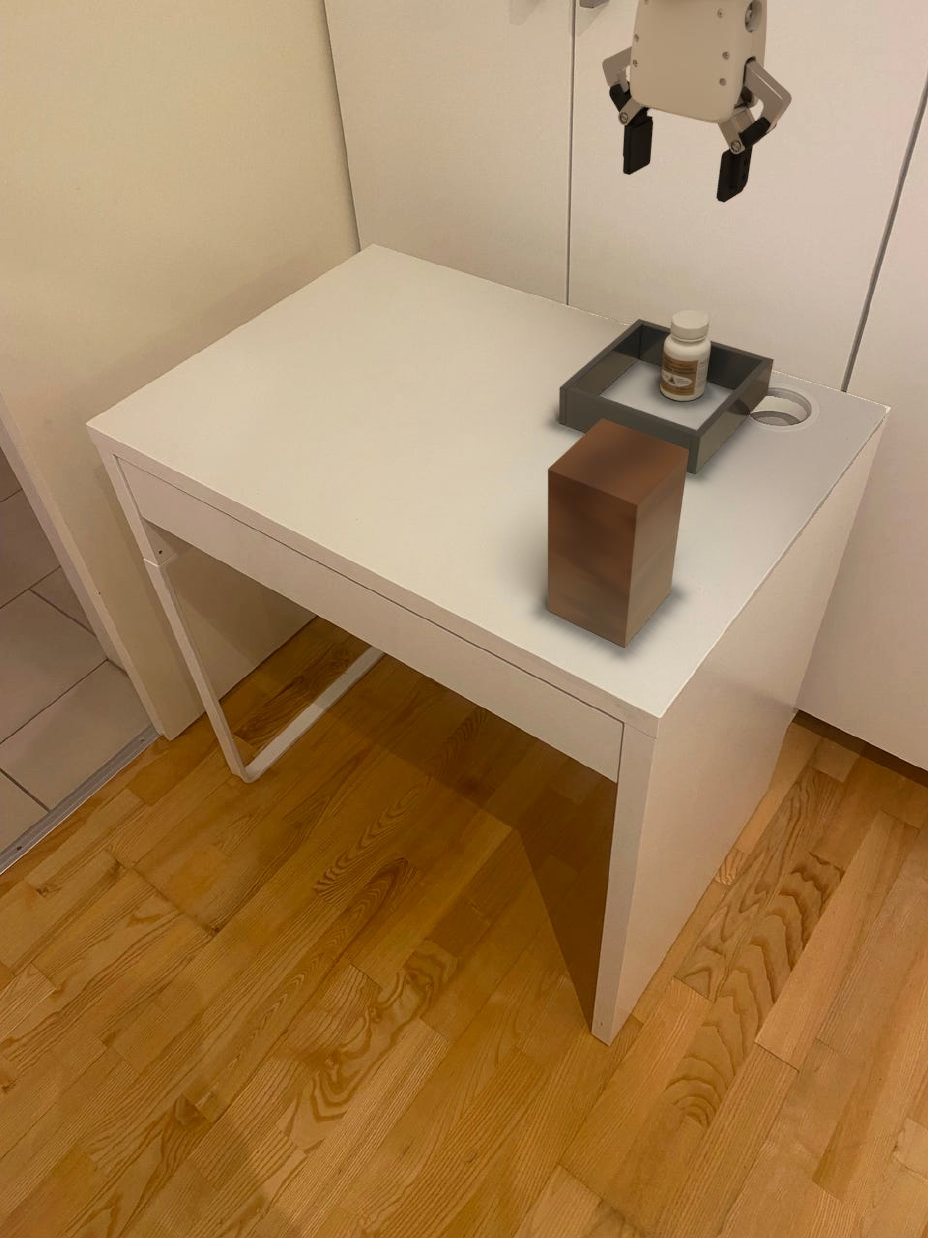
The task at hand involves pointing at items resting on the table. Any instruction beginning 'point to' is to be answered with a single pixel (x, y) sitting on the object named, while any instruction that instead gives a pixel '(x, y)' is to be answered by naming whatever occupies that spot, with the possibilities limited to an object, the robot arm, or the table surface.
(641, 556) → the display block
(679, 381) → the pill bottle
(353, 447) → the table surface
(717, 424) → the tray
